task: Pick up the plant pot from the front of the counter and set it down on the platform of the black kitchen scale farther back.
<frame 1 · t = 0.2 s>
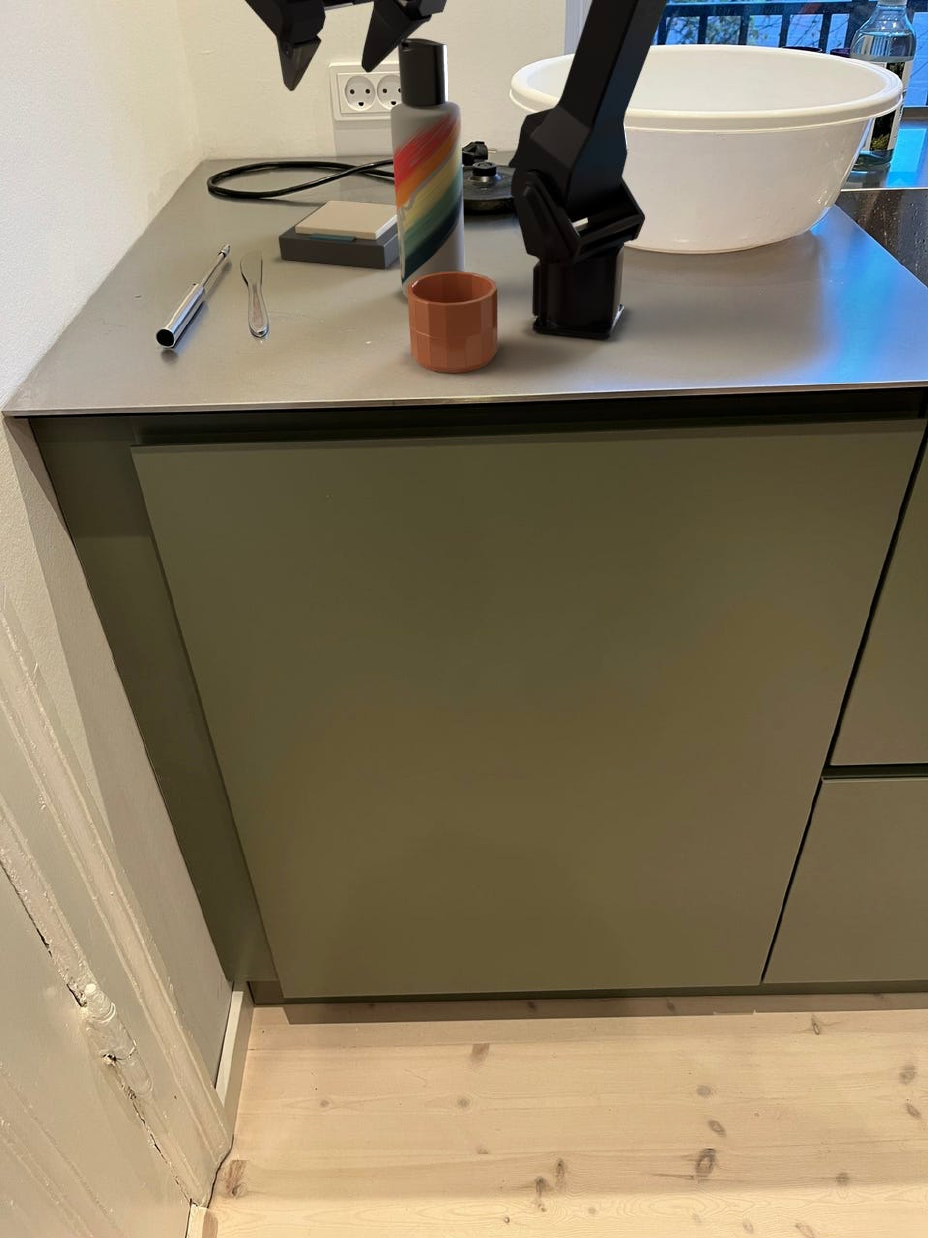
hand: (328, 78, 90), 15 cm above the worktop, tool tilted 30°, fingers open, 9 cm apart
plant pot: (454, 355, 77), on the worktop
scale: (354, 245, 98), on the worktop
lotion bottle: (433, 295, 88), on the worktop
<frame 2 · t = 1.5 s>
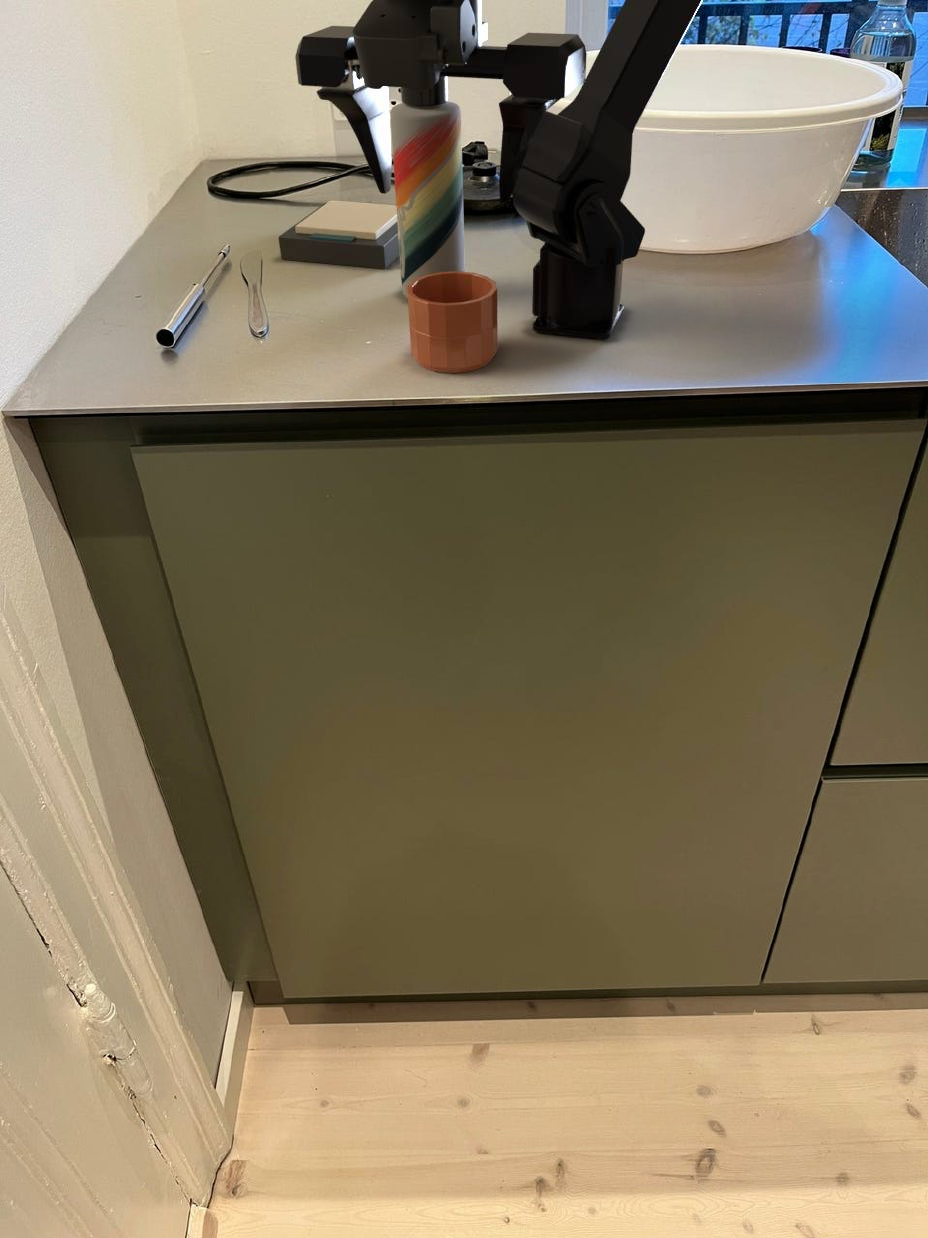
hand: (444, 197, 70), 12 cm above the worktop, tool pointing down, fingers open, 9 cm apart
nothing on the worktop moved.
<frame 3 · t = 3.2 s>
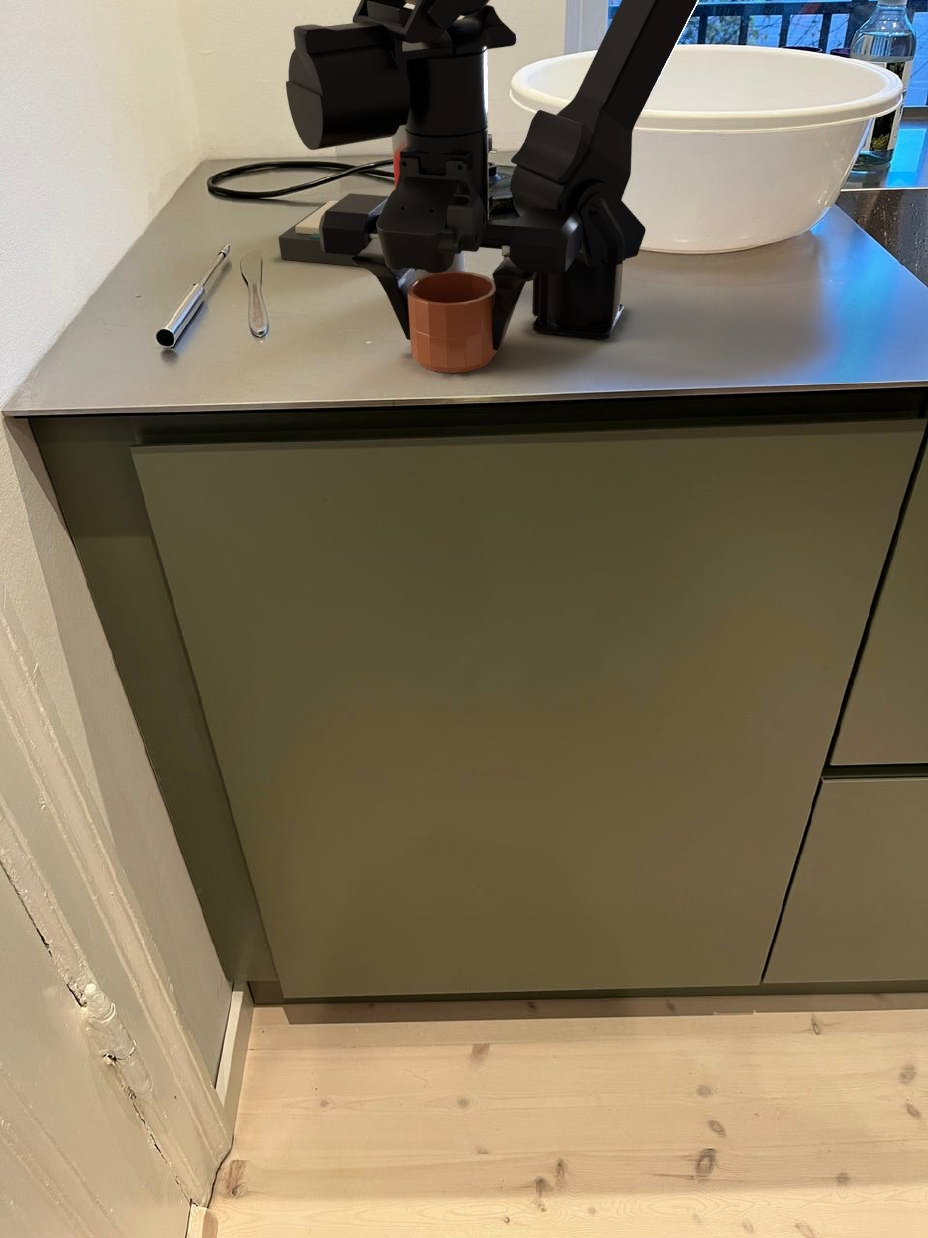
hand: (453, 343, 77), 1 cm above the worktop, tool pointing down, fingers closed on plant pot, 7 cm apart
plant pot: (454, 355, 77), on the worktop, touching gripper
everything else where it was.
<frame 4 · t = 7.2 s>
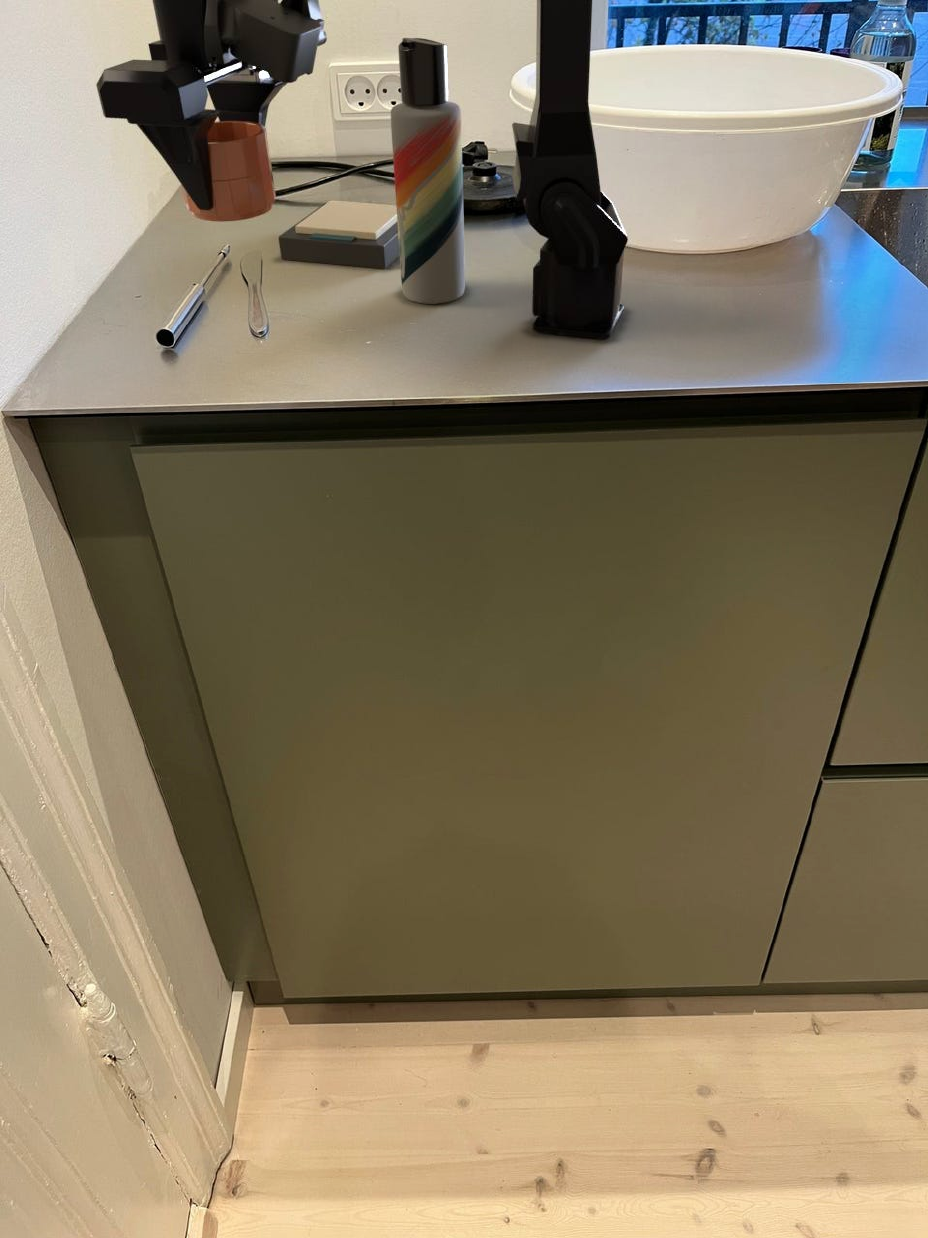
hand: (229, 195, 75), 11 cm above the worktop, tool pointing down, fingers closed on plant pot, 7 cm apart
plant pot: (232, 208, 76), point 10 cm above the worktop, touching gripper
everything else where it was.
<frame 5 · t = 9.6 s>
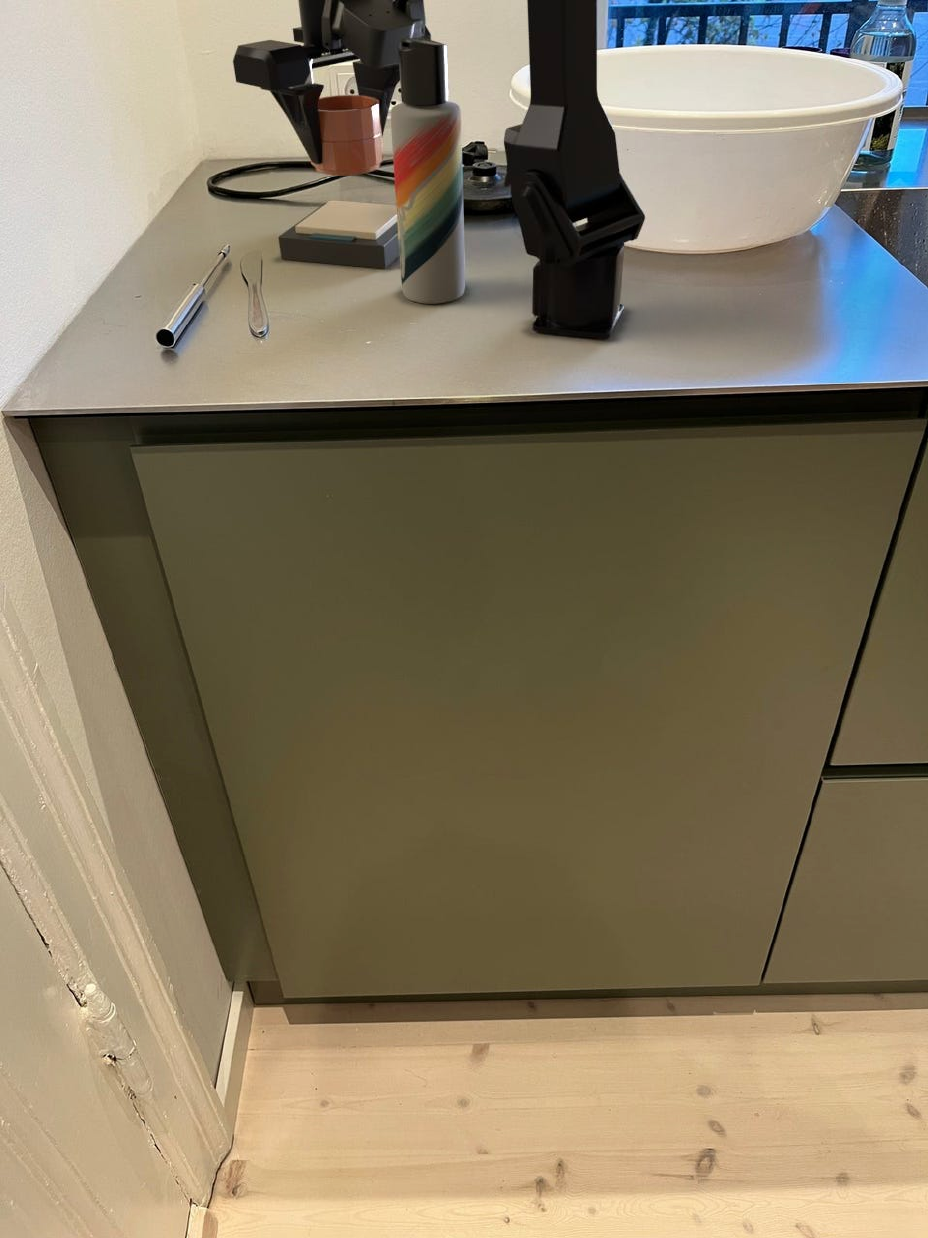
hand: (346, 155, 92), 8 cm above the worktop, tool pointing down, fingers closed on plant pot, 7 cm apart
plant pot: (348, 166, 93), point 7 cm above the worktop, touching gripper
everything else where it was.
when the fingers open (4 cm above the worktop, at t = 11.5 s): plant pot stays where it is, resting on scale.
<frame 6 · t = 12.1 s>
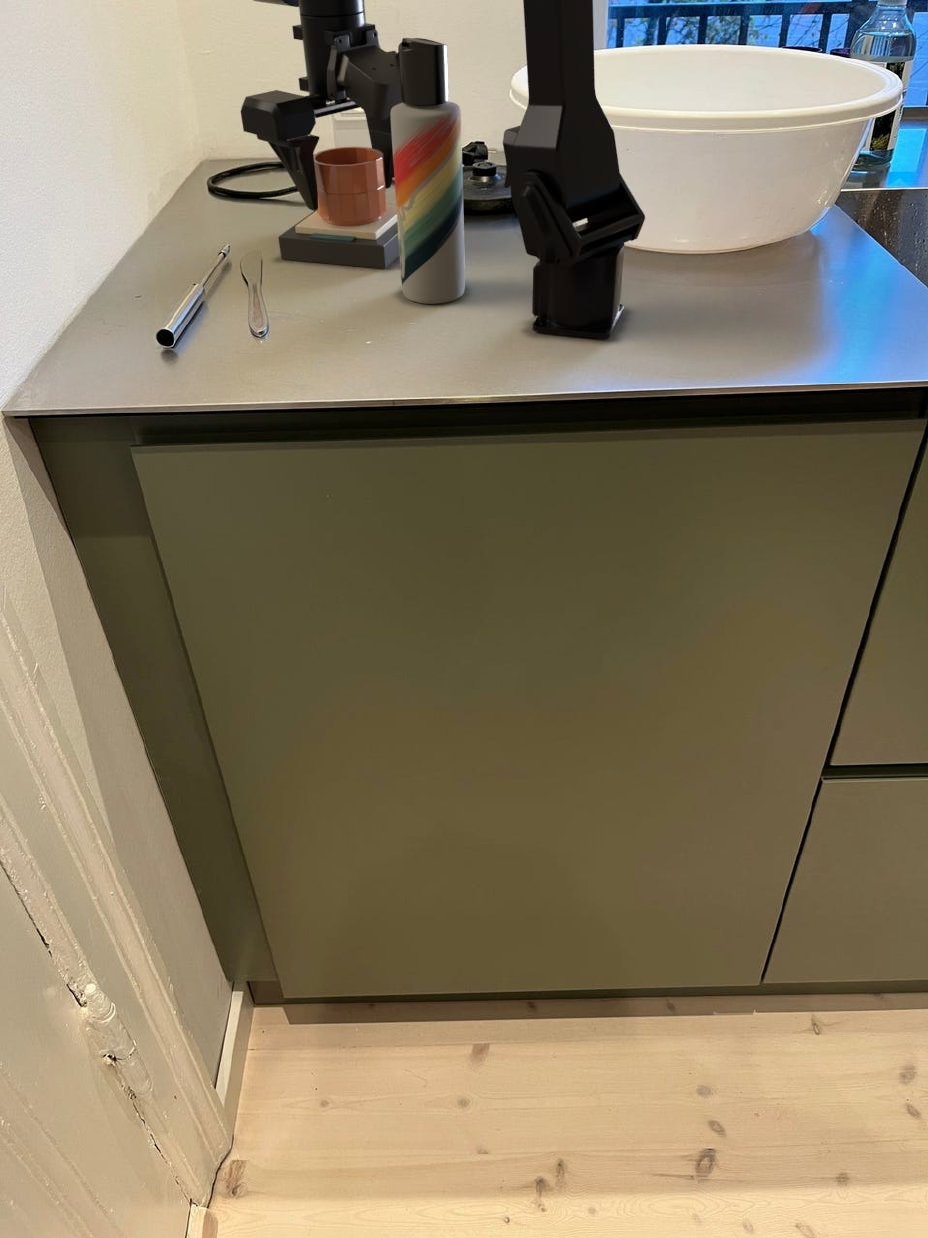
hand: (350, 198, 95), 5 cm above the worktop, tool pointing down, fingers open, 9 cm apart
plant pot: (352, 215, 96), point 3 cm above the worktop, touching scale
everything else where it was.
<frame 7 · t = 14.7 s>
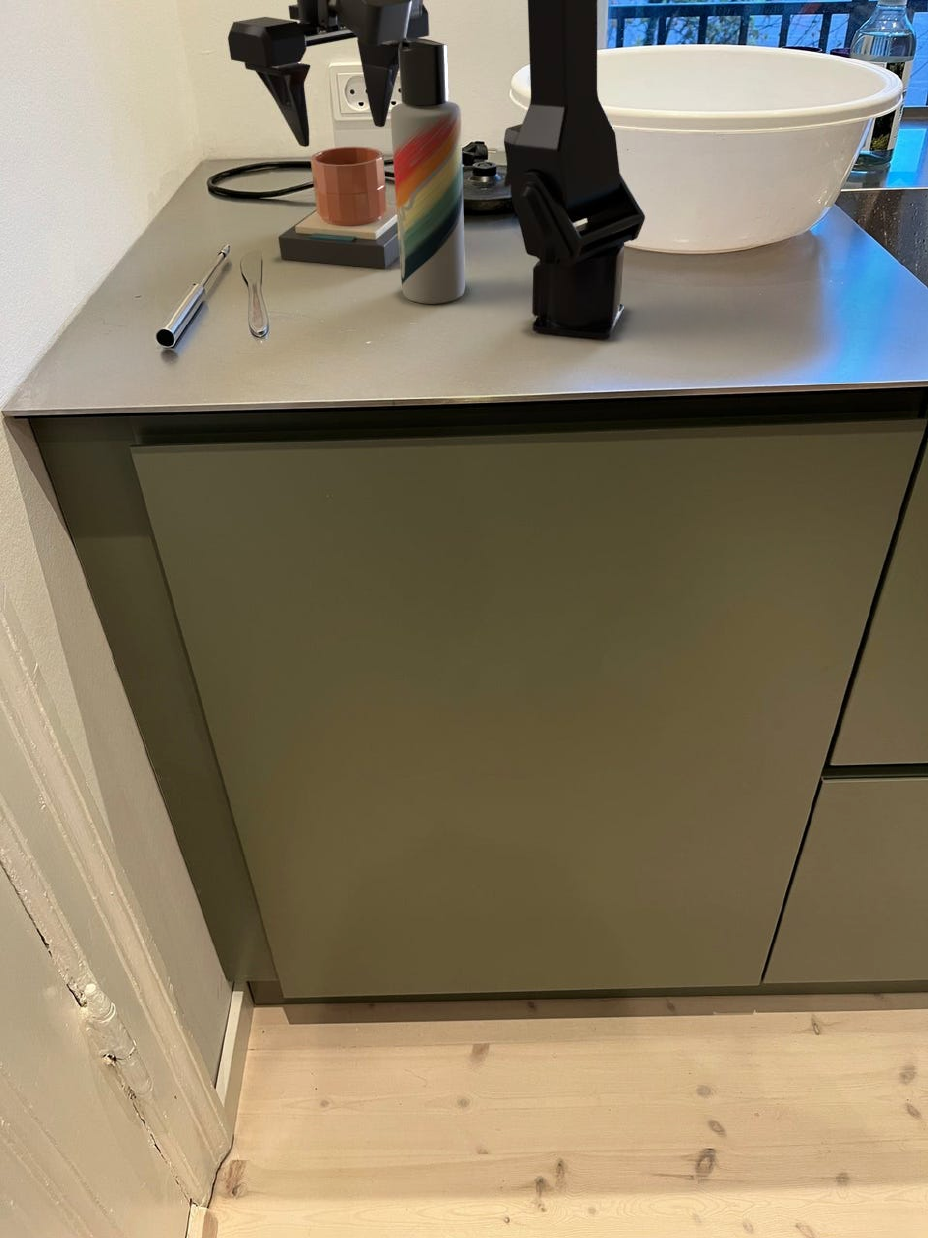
hand: (343, 135, 91), 10 cm above the worktop, tool pointing down, fingers open, 9 cm apart
nothing on the worktop moved.
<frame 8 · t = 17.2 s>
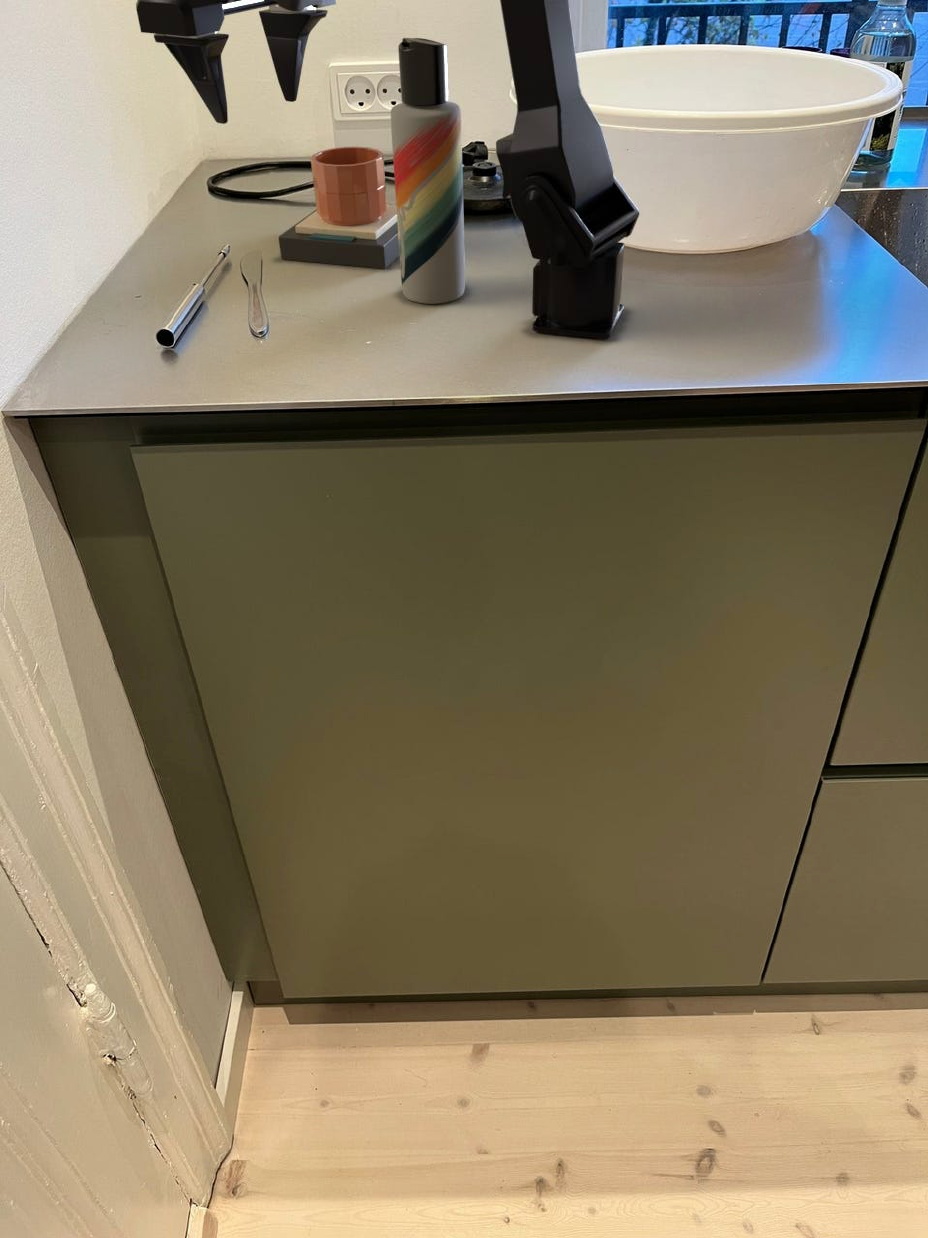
hand: (257, 111, 87), 13 cm above the worktop, tool pointing down, fingers open, 9 cm apart
nothing on the worktop moved.
at the end: plant pot inside the target area on the scale (0.1 cm from its centre), point 2.9 cm above the scale's base; plant pot tilted 0°; the gripper is holding nothing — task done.
